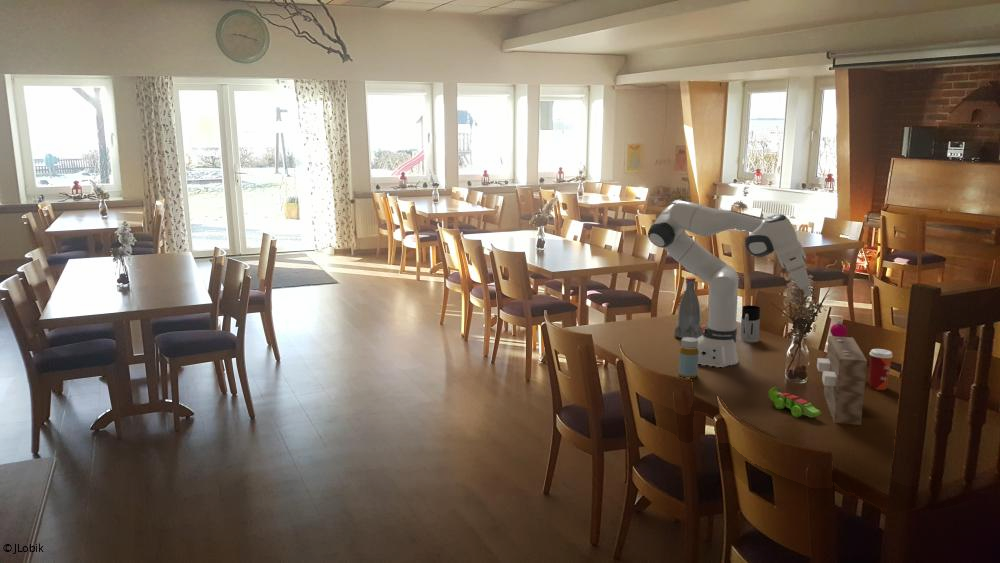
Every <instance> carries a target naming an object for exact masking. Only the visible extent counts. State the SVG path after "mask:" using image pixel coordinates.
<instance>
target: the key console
mask: <svg viewBox="0 0 1000 563" xmlns="http://www.w3.org/2000/svg"><path fill="white" fill-rule="evenodd" d="M826 357H827V359H829V360H830V372H835V374H836V376H837V378H836V386H826V385H824V384H823V386H824V387H823V396H824V398H825V402H826V401H827V402H826V404H828V405H827V407H828V410H829V412H831V413H830V415H831V418H832V420H833V423H837V424H847V425H855V426H856V425H861V424H862V419H863V418H862V417H863V407H864V397H865V395H864V394H865V386H866V374H867V366H868V365H867V364H868V360H867V358H866V356H865V355H864V353H863V351H862V350H861V348H860V347H859V344H858V343H857V342H856V339H855V338H854V337H852V336H851V337H850V336H849V337H848V336H844V337H836V336H832V335H828V339H827V350H826Z"/></svg>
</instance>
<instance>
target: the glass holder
mask: <svg viewBox="0 0 1000 563" xmlns="http://www.w3.org/2000/svg"><path fill="white" fill-rule="evenodd" d="M760 313H761V307H760V306H758V305H743V306H742V311H741V321H740V336H739V338H738V339H739V340H740V341H742V342H744V341H745V343H757V342H758V343H759V342H760V338H759V337H760V324H761V317H760V316H761V314H760Z"/></svg>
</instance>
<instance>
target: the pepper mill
mask: <svg viewBox="0 0 1000 563" xmlns="http://www.w3.org/2000/svg"><path fill="white" fill-rule="evenodd" d="M829 331H830V334H831V336H836V337H846V335H847V334H848V328H847V327H846V326H845V325H844V324H843V323H842V320H837V321H836V324H833V325H832V326H831V327H830V330H829ZM825 359H827V356H825Z"/></svg>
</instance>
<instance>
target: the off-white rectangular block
mask: <svg viewBox="0 0 1000 563" xmlns="http://www.w3.org/2000/svg"><path fill="white" fill-rule="evenodd" d="M836 378H837V376H836V374H835V372H829V371H823V372H822V376H821V381H822V384H823V386H824V385H826V386H836Z"/></svg>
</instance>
